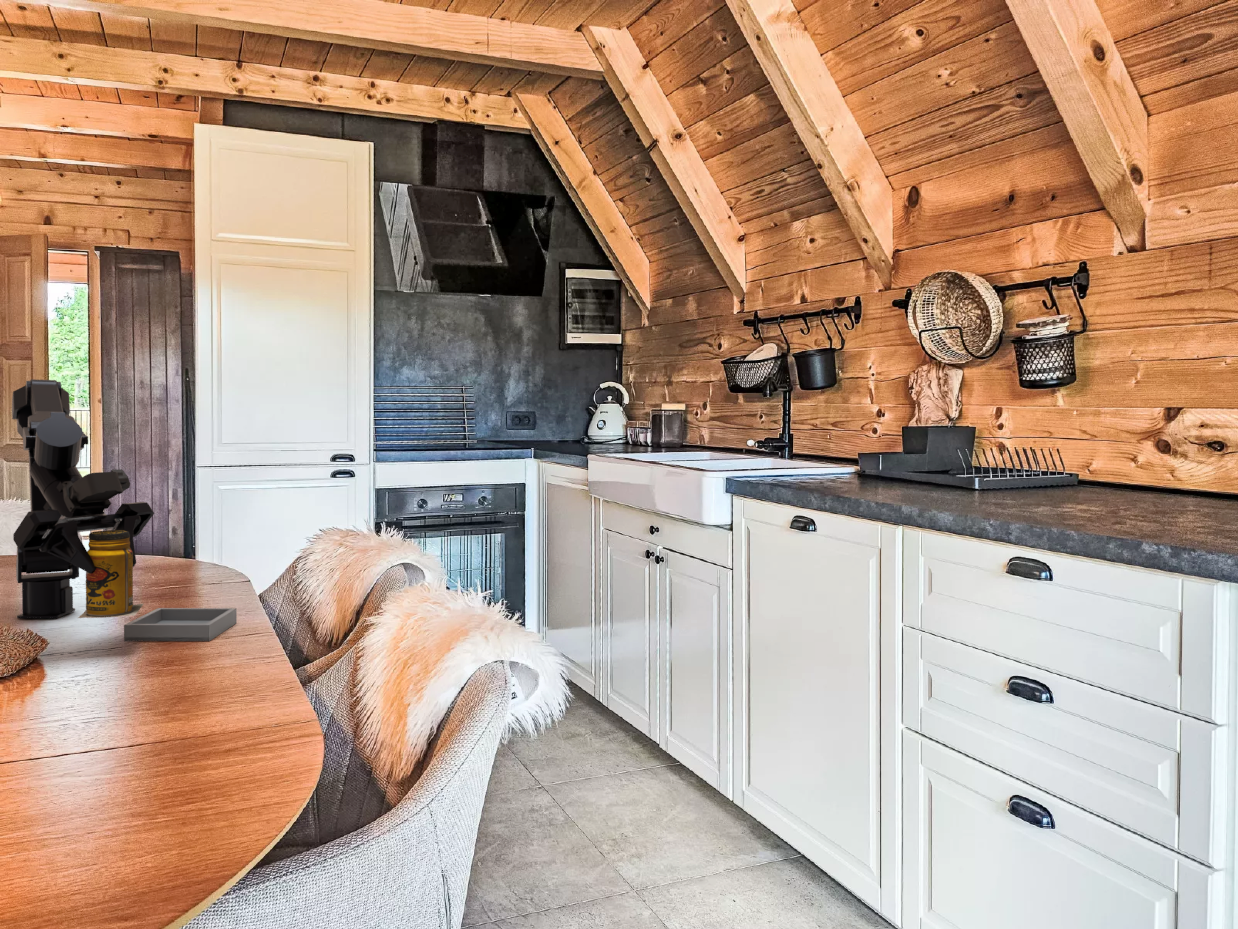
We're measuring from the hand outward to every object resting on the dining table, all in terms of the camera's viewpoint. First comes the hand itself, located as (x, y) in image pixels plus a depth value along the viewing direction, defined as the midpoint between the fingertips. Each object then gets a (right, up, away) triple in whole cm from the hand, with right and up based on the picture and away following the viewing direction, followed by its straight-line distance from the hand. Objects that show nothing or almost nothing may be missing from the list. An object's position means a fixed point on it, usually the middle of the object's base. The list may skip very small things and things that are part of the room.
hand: (113, 568), depth 135 cm
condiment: (-1, -7, +2) cm, 7 cm away
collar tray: (+4, -12, +14) cm, 18 cm away
